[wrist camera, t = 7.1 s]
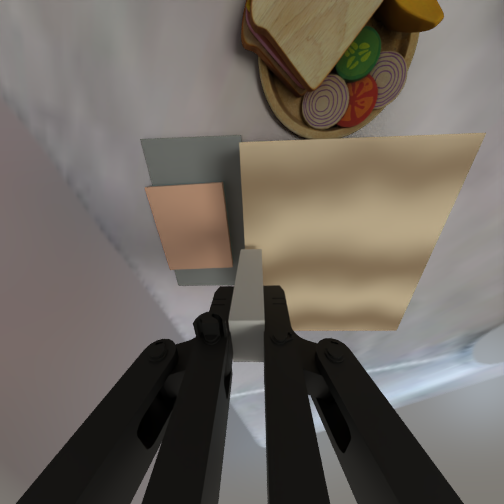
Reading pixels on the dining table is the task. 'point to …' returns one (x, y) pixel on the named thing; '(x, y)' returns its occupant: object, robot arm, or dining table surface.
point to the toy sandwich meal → (334, 58)
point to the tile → (192, 224)
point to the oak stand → (350, 221)
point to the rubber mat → (202, 170)
